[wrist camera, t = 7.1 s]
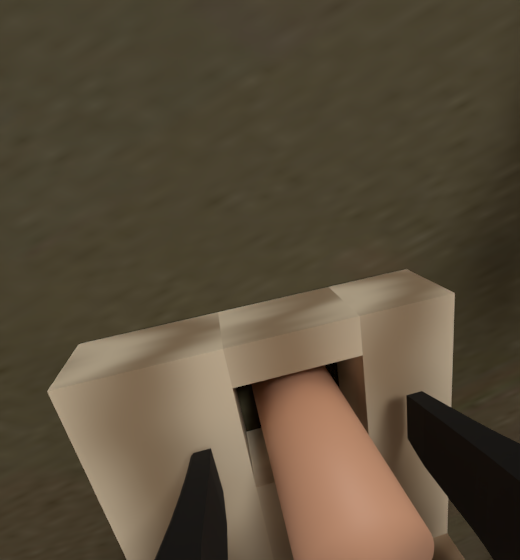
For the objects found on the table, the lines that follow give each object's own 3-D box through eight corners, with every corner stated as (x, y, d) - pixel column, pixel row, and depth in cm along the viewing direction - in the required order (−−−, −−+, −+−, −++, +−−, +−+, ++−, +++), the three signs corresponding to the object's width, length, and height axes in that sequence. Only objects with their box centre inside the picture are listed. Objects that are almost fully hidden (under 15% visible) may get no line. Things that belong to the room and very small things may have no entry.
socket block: (406, 269, 15) (561, 346, 9) (411, 494, 20) (512, 651, 13) (78, 344, 13) (-29, 504, 7) (170, 567, 18) (155, 783, 12)
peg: (320, 335, 15) (438, 500, 8) (324, 397, 16) (430, 592, 9) (245, 350, 15) (295, 539, 7) (255, 412, 16) (305, 630, 8)
